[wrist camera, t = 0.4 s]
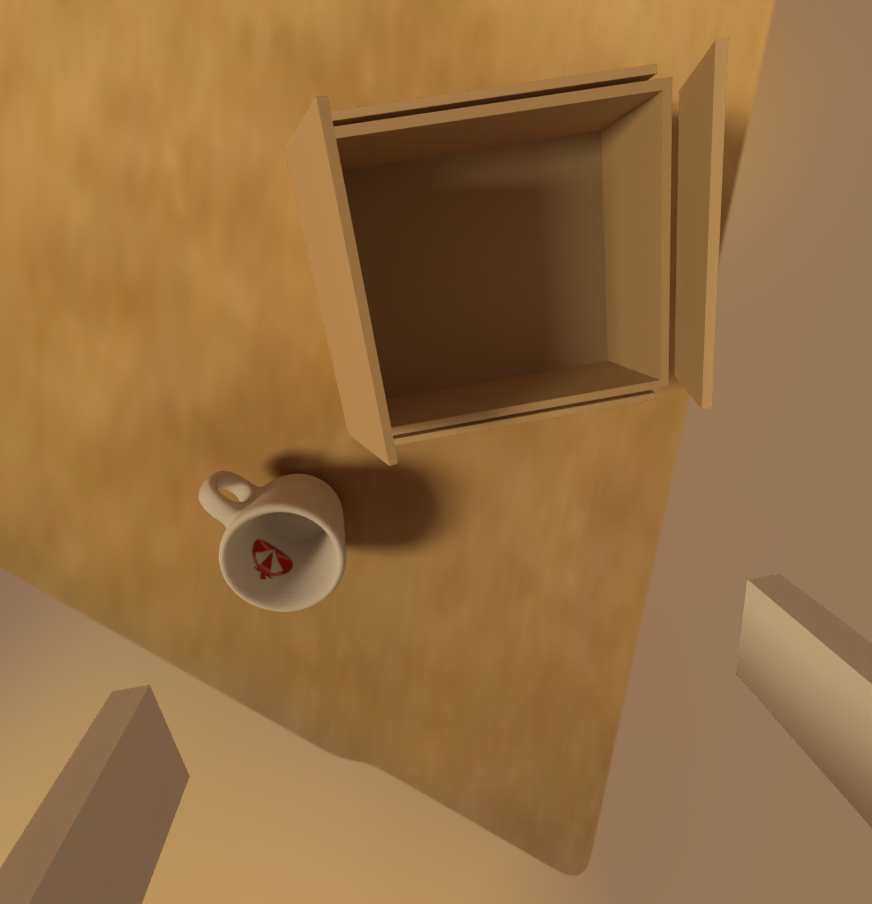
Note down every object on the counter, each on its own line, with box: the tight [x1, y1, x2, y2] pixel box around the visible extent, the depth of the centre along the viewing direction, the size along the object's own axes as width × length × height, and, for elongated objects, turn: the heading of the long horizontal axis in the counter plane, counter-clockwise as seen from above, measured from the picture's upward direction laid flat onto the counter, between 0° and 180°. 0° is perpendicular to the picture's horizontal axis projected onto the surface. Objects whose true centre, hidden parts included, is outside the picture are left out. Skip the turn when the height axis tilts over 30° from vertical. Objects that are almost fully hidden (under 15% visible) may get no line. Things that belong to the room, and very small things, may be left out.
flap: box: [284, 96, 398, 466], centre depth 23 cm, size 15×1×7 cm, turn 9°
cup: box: [199, 471, 346, 612], centre depth 35 cm, size 11×8×8 cm
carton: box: [331, 64, 672, 445], centre depth 31 cm, size 17×19×8 cm
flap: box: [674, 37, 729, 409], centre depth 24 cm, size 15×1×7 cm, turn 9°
